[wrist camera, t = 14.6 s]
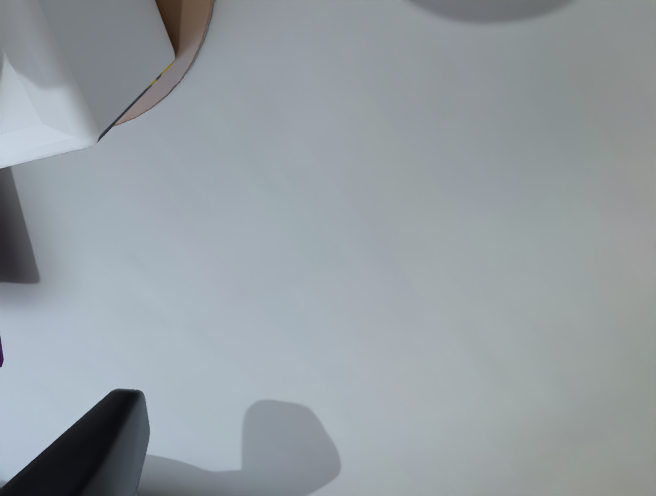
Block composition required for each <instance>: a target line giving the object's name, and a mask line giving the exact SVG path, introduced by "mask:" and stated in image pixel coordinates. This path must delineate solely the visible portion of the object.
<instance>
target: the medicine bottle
mask: <svg viewBox="0 0 656 496" xmlns="http://www.w3.org/2000/svg"><path fill="white" fill-rule="evenodd" d="M174 60H175V53H174V49H173V47H172V44H171V41H170V39H169V36H168V34H167V31H166V28H165V26H164V23H163V20H162V18H161V15H160V12H159V10H158V7H157V5H156V2H155V0H0V168H4V167H8V166H12V165H17V164H21V163H25V162H29V161H33V160H38V159H42V158H46V157H50V156H54V155H59V154H63V153H67V152H71V151H75V150H80V149H84V148H88V147H91V146H92V145H94V144H96V143H97V142H98V141H99V140H100V139H101V138H102V137H103V136H104V135H105V134H106V133H107V132H108V131H109V130H110V129H111V128H112V127H113V126H114V125H115V124H116V123H117V121H118V120H119V119H120V118H121V117H122V116H123V115H124V114H125V113H126V112H127V111H128V110H129V109H130V108H131V107H132V106H133V105H134V104H135V103H136V102H137V101H138V100H139V99H140V98H141V97H142V96H143V95H144V94H145V93H146V91H147V90H148V89H149V88H150V87H151V86H152V85H153V84H154V83H155V82H156V81H157V80H158V79H159V78H160V77H161V76H162V75H163V74H164V73H165V72H166V71H167V70H168V69H169V68H170V67H171V66H172V65H173V63H174Z"/></svg>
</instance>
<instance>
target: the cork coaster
mask: <svg viewBox="0 0 656 496" xmlns="http://www.w3.org/2000/svg"><path fill="white" fill-rule="evenodd" d="M155 2H156V5H157V7H158V10H159V12H160V15H161V18H162V20H163V23H164V26H165V28H166V31H167V34H168V36H169V39H170V41H171V44H172V47H173V49H174V53H175V60H174V63H173V65H172V66H171V67H170V68H169V69H168V70H167V71H166V72H165V73H164V74H163V75H162V76H161V77H160V78H159V79H158V80H157V81H156V82H155V83H154V84H153V85H152V86H151V87H150V88H149V89H148V90H147V91H146V93H145V94H144V95H143V96H142V97H141V98H140V99H139V100H138V101H137V102H136V103H135V104H134V105H133V106H132V107H131V108H130V109H129V110H128V111H127V112H126V113H125V114H124V115H123V116H122V117H121V118H120V119H119V120H118V121H117V123H116V124H115V125H114V126H116V125H119V124H121V123H124V122H126V121H129V120H131V119H134V118H136V117H138V116H139V115H141V114H143V113H145V112H146V111H148V110H150V109H151V108H153V107H154V106H155V105H156V104H158V103H159V102H160V101H161V100H163V99H164V98H165V97H166V96H167V95H168V94H169V93H170V92H171V91H172V90H173V89H174V88H175V87H176V86H177V84H178V83H179V82H180V81H181V80H182V79H183V78H184V76H185V74H186V73H187V71H188V70H189V68H190V67H191V65H192V64H193V62H194V61H195V59H196V57H197V55H198V53H199V50H200V48H201V46H202V44H203V42H204V39H205V36H206V33H207V30H208V26H209V23H210V20H211V15H212V9H213V3H214V0H155Z"/></svg>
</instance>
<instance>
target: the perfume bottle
mask: <svg viewBox="0 0 656 496" xmlns="http://www.w3.org/2000/svg"><path fill="white" fill-rule="evenodd" d="M3 360H4V359H3V352H2V345H1V338H0V367H2V364H3Z"/></svg>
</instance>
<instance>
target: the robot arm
mask: <svg viewBox="0 0 656 496" xmlns="http://www.w3.org/2000/svg"><path fill="white" fill-rule="evenodd" d="M149 435H150V427H149V420H148V414H147V407H146V401H145V396H144V394H143V392H142V391H140V390H133V389H115V390H113V391H111V392H110V393H109V394H108V395H106V396H105V397H104V398H103V399H102V400H101V401H100V402H98V403H97V404H96V405H95V406H94V407H93V408H92V409H91V410H89V411H88V412H87V413H86V414H85V415H84V416H83V417H81V418H80V419H79V420H78V421H77V422H76V423H75V424H73V425H72V426H71V427H70V428H69V429H68V430H67V431H66V432H64V433H63V434H62V435H61V436H60V437H59V438H58V439H56V440H55V441H54V442H53V443H52V444H51V445H50V446H49V447H47V448H46V449H45V450H44V451H43V452H42V453H41V454H39V455H38V456H37V457H36V458H35V459H34V460H33V461H31V462H30V463H29V464H28V465H27V466H26V467H25V468H24V469H22V470H21V471H20V472H19V473H18V474H17V475H16V476H14V477H13V478H12V479H11V480H10V481H9V482H8V483H7V484H5V485H4V486H3V487H2V488H1V489H0V496H136V492H137V488H138V484H139V480H140V476H141V472H142V467H143V463H144V459H145V455H146V451H147V447H148V442H149Z"/></svg>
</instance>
